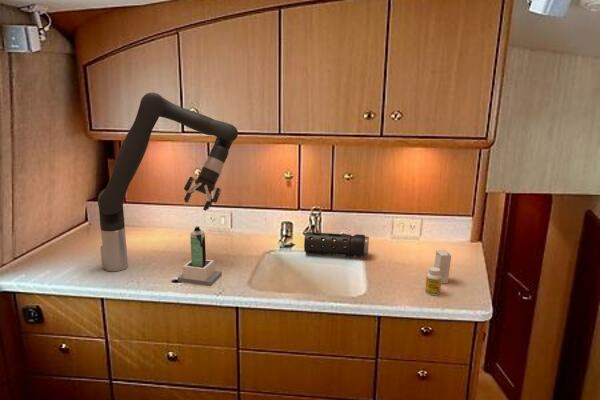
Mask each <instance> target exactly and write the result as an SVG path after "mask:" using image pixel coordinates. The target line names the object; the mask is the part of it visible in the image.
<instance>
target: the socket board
mask: <svg viewBox="0 0 600 400" xmlns="http://www.w3.org/2000/svg"><path fill="white" fill-rule="evenodd" d="M222 275H223V272H222V271H219V270H218V271H217V270H216V268H215V260H212V259H206V266H205V267H204V268H200V267H192V259H190V261H188V262H187V263H186V264H184V265H183V266H182V273H181V274H180V275H179V276H178V277H177V282H178V283H179V282H180V283H187V284H193V285H195V284H196V285H201V286H208V287H209V286H212V285H213V284H214V283H215V282H216V281H218V279H219V278H221V277H222Z"/></svg>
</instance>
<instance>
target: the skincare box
mask: <svg viewBox="0 0 600 400" xmlns="http://www.w3.org/2000/svg"><path fill="white" fill-rule="evenodd" d="M434 256H435V258H434V264H433V265H434V266H433V267H437V268H439V269H440V273H439V274H440V275H441V283H446V284H448V282H449V276H450V269H451V262H452V254H450V252H449V251H448V250H447V249H436V250H435V255H434Z"/></svg>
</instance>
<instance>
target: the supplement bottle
mask: <svg viewBox="0 0 600 400" xmlns="http://www.w3.org/2000/svg"><path fill="white" fill-rule="evenodd" d="M439 273H440V269H439V268H437V267H434V266H431V267H429V268H428V273H427V274H426V276H425V277H426V278H425V279H426V281H425V288H424V289H425V294H427V293H428V294H427V295H429V294H430V296H439V295H440V294H441V287H442V286H441V285H442V284H441V275H440V274H439ZM438 294H439V295H438Z"/></svg>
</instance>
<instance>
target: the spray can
mask: <svg viewBox="0 0 600 400" xmlns="http://www.w3.org/2000/svg"><path fill="white" fill-rule="evenodd" d="M206 250H207V249H206V234H205V231H203V230H202V229H201V228H200V226H198V225H197V226H195V227H194V229H193V231H191V232H190V252H191V254H190V255H191V257H190V258H191V260H192V267H200V268H204V267H205V266H206V260H207V255H206V252H207V251H206Z"/></svg>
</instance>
